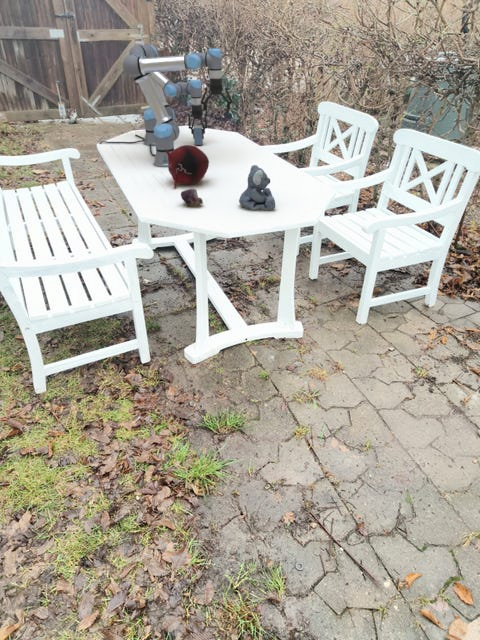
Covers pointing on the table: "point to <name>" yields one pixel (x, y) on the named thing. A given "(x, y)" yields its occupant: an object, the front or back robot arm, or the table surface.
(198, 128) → the block
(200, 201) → the rock
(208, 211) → the table surface
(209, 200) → the table surface
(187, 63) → the front robot arm
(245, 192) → the koala plush
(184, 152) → the dark red rounded piece
